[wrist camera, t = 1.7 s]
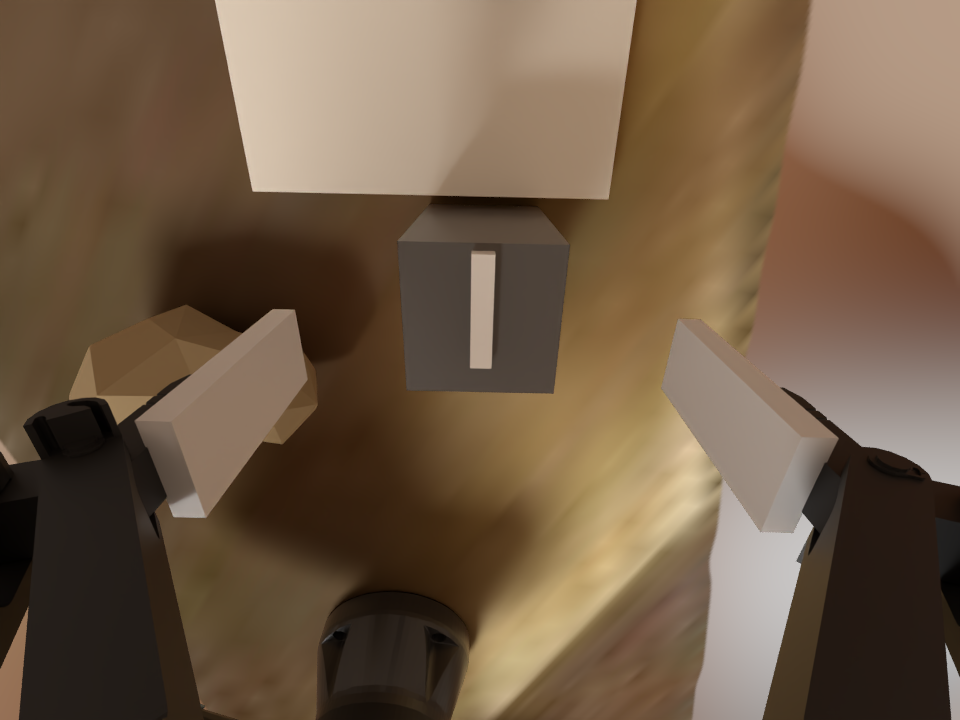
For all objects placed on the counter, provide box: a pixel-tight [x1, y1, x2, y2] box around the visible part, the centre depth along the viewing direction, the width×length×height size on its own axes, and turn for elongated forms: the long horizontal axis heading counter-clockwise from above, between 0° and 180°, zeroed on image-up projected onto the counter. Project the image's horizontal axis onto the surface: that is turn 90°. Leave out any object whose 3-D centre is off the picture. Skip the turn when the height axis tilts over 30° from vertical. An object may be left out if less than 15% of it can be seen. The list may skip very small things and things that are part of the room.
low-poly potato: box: [69, 305, 318, 500], centre depth 27 cm, size 15×11×12 cm
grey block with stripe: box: [397, 204, 570, 394], centre depth 23 cm, size 7×7×12 cm
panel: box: [215, 0, 637, 199], centre depth 20 cm, size 16×20×7 cm
